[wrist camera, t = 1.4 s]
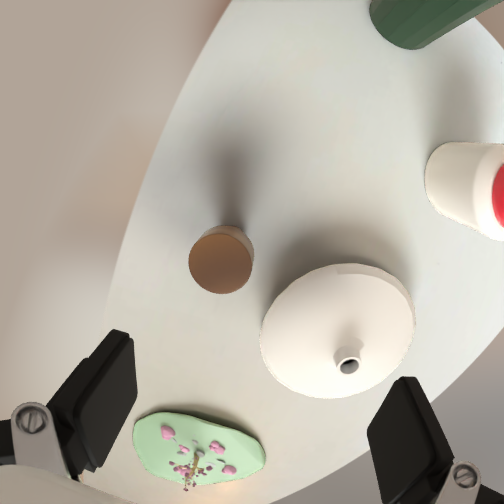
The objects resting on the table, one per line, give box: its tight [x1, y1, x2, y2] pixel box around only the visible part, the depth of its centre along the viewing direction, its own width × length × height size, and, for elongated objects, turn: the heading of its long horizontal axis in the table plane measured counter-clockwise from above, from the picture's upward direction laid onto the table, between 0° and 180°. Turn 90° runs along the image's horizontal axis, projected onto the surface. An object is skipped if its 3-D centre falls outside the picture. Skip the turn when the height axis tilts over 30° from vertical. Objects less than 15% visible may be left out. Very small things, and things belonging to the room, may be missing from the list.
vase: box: [260, 263, 416, 399], centre depth 27 cm, size 16×16×7 cm
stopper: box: [189, 226, 254, 294], centre depth 25 cm, size 5×5×7 cm
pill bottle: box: [424, 142, 504, 241], centre depth 20 cm, size 8×8×11 cm
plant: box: [133, 412, 265, 491], centre depth 36 cm, size 25×21×9 cm
